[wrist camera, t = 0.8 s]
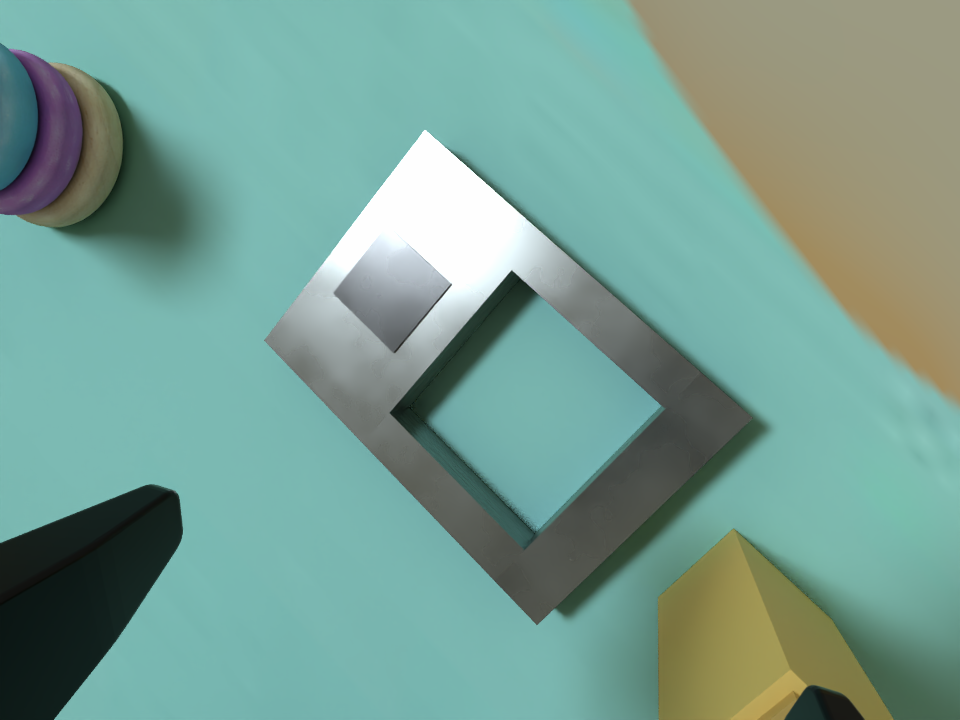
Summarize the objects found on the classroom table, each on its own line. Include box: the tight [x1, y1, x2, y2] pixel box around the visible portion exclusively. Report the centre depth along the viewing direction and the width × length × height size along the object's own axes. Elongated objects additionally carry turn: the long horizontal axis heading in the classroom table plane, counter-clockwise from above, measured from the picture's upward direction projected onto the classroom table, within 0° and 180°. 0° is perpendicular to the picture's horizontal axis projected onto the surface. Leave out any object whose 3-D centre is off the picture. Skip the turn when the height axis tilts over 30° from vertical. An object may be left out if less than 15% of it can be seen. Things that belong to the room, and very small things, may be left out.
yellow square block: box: [658, 529, 894, 720], centre depth 18 cm, size 4×4×10 cm
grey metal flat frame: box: [264, 131, 752, 625], centre depth 24 cm, size 11×16×2 cm
